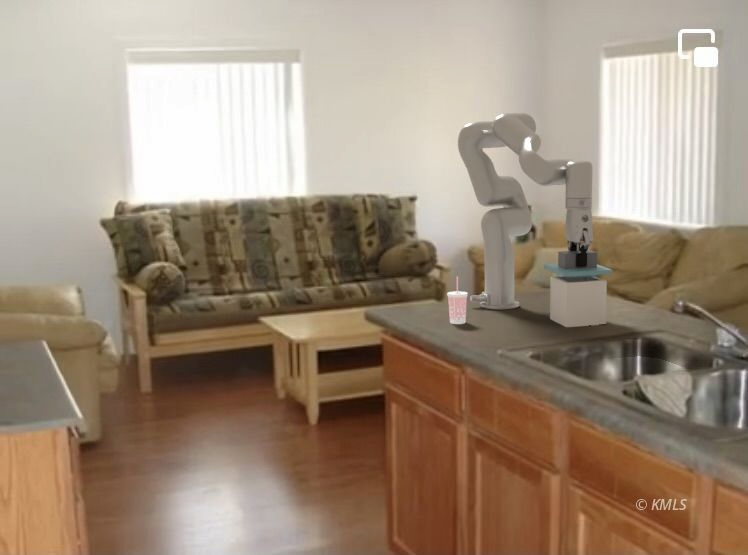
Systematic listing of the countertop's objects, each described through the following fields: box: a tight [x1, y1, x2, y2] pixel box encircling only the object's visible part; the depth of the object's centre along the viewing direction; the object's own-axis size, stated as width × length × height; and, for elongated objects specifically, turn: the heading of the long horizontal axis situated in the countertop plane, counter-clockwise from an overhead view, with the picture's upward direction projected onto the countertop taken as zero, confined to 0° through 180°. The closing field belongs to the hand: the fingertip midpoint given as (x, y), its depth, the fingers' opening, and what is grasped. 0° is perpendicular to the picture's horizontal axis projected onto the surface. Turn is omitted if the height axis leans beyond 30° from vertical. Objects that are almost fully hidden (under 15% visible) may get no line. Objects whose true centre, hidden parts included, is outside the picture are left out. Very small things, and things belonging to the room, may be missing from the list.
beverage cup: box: [446, 275, 468, 325], centre depth 299 cm, size 6×6×14 cm
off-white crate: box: [549, 275, 608, 328], centre depth 296 cm, size 12×12×13 cm
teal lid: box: [543, 249, 613, 277], centre depth 294 cm, size 15×15×6 cm
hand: (577, 264), depth 294 cm, fingers closed on teal lid, 5 cm apart
